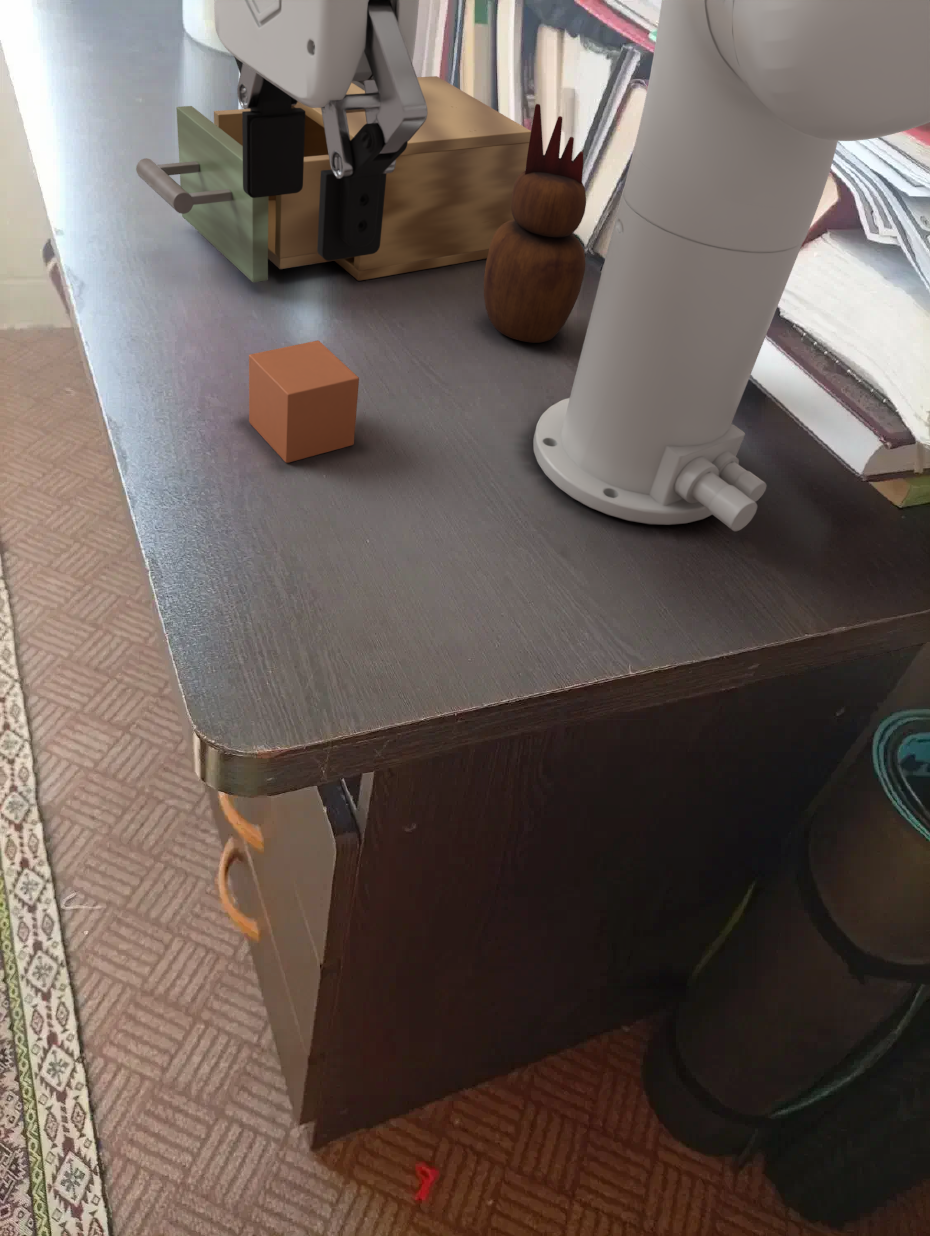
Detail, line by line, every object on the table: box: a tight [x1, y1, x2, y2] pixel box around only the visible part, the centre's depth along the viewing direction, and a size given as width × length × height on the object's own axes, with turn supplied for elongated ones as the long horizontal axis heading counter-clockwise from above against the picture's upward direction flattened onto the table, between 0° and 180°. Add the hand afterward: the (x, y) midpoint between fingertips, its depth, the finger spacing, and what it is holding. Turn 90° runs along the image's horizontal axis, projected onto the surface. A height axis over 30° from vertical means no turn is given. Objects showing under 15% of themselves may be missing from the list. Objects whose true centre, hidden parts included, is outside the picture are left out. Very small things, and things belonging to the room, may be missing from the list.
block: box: [248, 340, 360, 464], centre depth 56 cm, size 4×4×4 cm
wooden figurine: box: [483, 103, 587, 344], centre depth 65 cm, size 7×6×15 cm
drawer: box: [135, 105, 353, 283], centre depth 70 cm, size 18×11×8 cm, turn 126°
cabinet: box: [294, 75, 531, 281], centre depth 76 cm, size 15×13×10 cm
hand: (309, 219), depth 49 cm, fingers open, 6 cm apart
